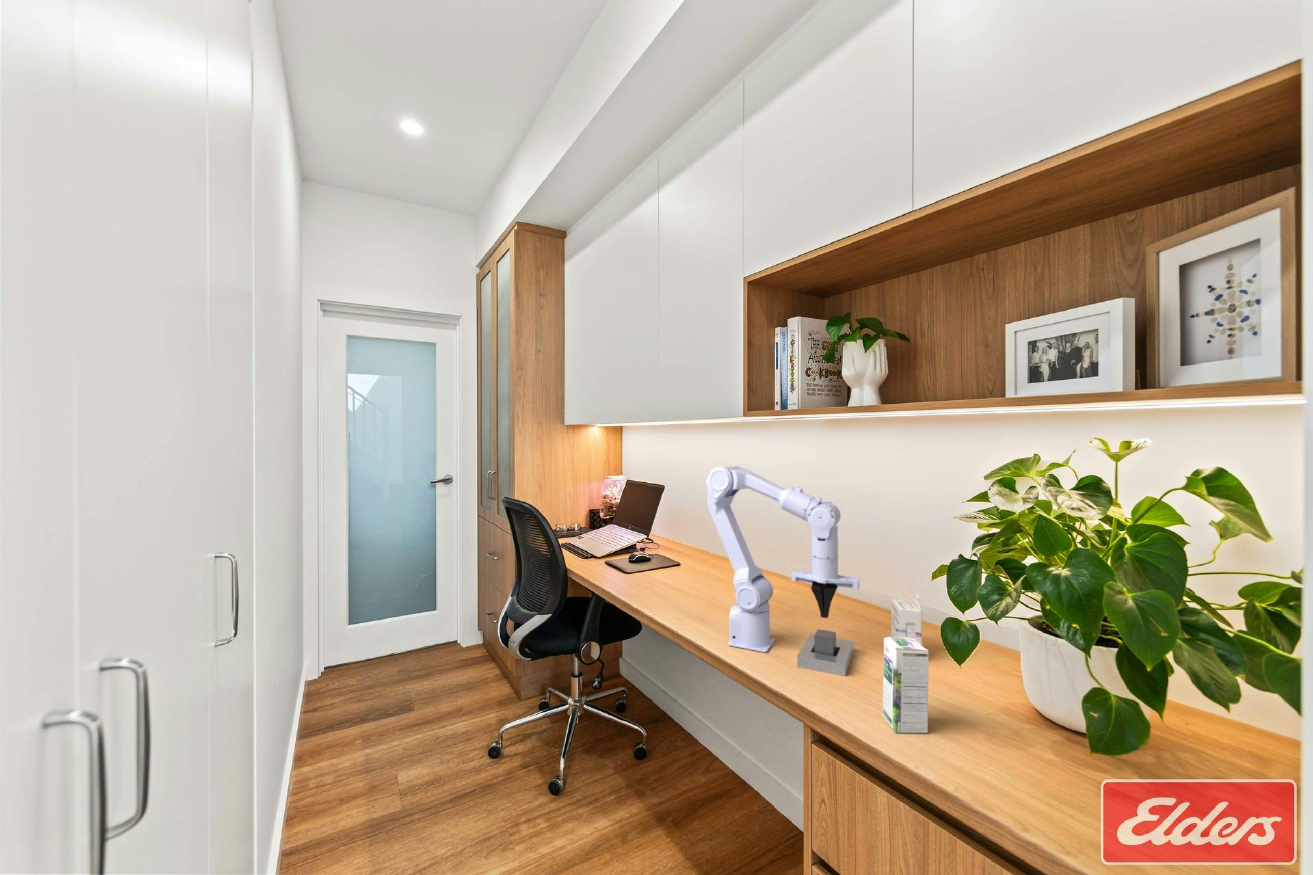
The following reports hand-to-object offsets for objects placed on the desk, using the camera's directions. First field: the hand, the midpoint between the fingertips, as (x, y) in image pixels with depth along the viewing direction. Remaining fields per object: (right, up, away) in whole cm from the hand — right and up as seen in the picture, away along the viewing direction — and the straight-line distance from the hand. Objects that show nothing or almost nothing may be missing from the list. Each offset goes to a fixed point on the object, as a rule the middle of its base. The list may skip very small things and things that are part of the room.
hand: (824, 616), depth 120 cm
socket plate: (0, -10, 0) cm, 10 cm away
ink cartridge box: (+20, -10, +3) cm, 22 cm away
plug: (0, -10, -1) cm, 10 cm away
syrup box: (+6, -10, -27) cm, 29 cm away
